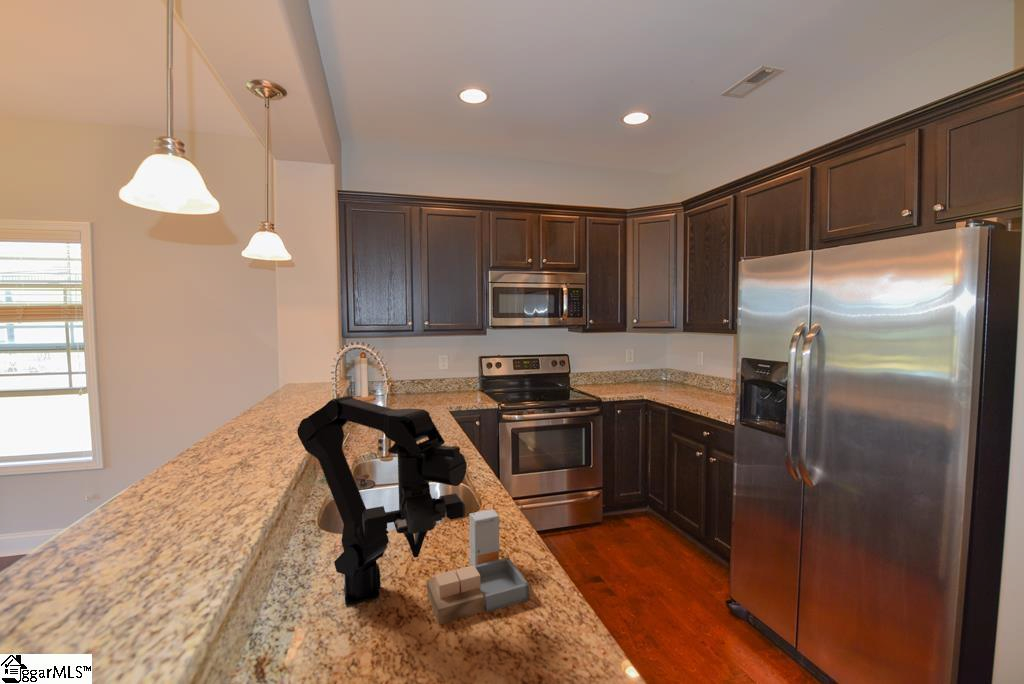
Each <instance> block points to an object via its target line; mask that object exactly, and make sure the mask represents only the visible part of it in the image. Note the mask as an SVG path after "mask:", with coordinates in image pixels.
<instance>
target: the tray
mask: <svg viewBox="0 0 1024 684" xmlns="http://www.w3.org/2000/svg"><path fill="white" fill-rule="evenodd" d="M475 568H476V569H477V571H478V573H479V574H480V588H479V589H480V590H481V592H482V594H483V596H484V612H486V613H490V611H491V612H493V611H497V610H500V608H501V609H504V608H507V607H511V606H514V605H518V604H520V603H523V602H527V601H530V583H529V582H528V581H527V580H526V578H525V577H524V576H523V575H522V573H521V571H520V570H519V569H518V568H517V566H516V565H515V564H514V563H513V562H512V560H511V559H510V558H509V557H504V558H499V560H495V561H491V562H487V563H483V564H479V565H475Z"/></svg>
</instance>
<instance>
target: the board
mask: <svg viewBox="0 0 1024 684" xmlns="http://www.w3.org/2000/svg"><path fill="white" fill-rule="evenodd" d="M426 594H427V597H428V599H429V602H430V605H431V608H432V611H433V614H434V616H435V618H436V619H435V620H436V621H437V625H438V626H439V625H443V624H447V623H450V622H454V621H457V620H461V619H465V618H468V617H471V616H473V615H478V614H481V613H483V612H485V609H484V596H483V594H482V592H481V590H480V589H479V588H477V589H473V590H469V591H466V592H462V593H461V591H460V593H458V594H454V595H451V596H447V597H443V598H439V596H438V593H437V591H436V588H435V577H432V578H428V579H426ZM477 613H478V614H477Z"/></svg>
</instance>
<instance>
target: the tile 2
mask: <svg viewBox="0 0 1024 684" xmlns="http://www.w3.org/2000/svg"><path fill="white" fill-rule="evenodd" d="M454 571H455V573H456V575H457V577H458V579H459V582H460V591H461V593H462V592H466V591H469V590H473V589H477V588H480V574H479V573H478V571H477V569H476V568H475V566H474V565H469V566H465V567H460V568H457V569H455V570H454Z"/></svg>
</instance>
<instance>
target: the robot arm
mask: <svg viewBox="0 0 1024 684" xmlns="http://www.w3.org/2000/svg"><path fill="white" fill-rule="evenodd" d="M432 419H433V418H432V417H431V414H430V412H428V411H427V410H425V409H423V408H398V409H397V408H390V407H386V406H384V405H383V406H382V405H379V404H375V403H371V402H369V401H364V400H361V399H356V398H354V397H352V396H349V395H344V396H340V397H335V398H332V399H330V401H328V402H327V403H326V404H325V405H323V406H322V407H321V408H319V409H317V410H316V411H315V412H313V413H311V414H310V415H308V416H307V417H305V418H303V419H302V420H300V422H299V426H298V427H297V436H298V438H299V441H300V442H301V444H302V446H303V448H304V449H305V451H306V452H307V453H308V454H310V455H311V456H313V457H314V458H316V459H317V460H318V462H319V465H320V467H321V469H322V473H323V475H324V478H325V480H326V483H327V485H328V488H329V490H330V493H331V495H332V498H333V501H334V503H335V506H336V507H337V511H338V512H339V516H340V518H341V520H342V523H343V528H342V534H341V545H342V549H343V551H342V553H341V554H339V556H338V557H337V558H336V559H334V561H333V563H334V567H335V571H336V573H337V574H341V575H344V586H343V591H344V593H343V594H344V603H345V604H344V605H345V606H350V605H353V604H358V603H361V602H365V601H369V600H373V599H377V598H379V597H380V592H379V590H380V589H381V569H380V565H379V563H377V560H379V559H380V558H381V559H382V558H383V556H384V553H385V551H386V550H387V549H388V544H389V543H390V541H389V537H388V534H389V533H390V532H389V530H388V524H390V523H393V524H394V527H395V528H394V529H395V531H396V533H397V534H403V535H404V537H405V538H406V540H407V543H408V544H409V548H410V551H411V554H412V556H413V558H414V559H415V558H419V555H420V552H421V549H422V546H423V544H424V540H425V538H426V536H427V533H428V531H433V530H434V529H435V528H436V526H437V522H440V521H442V520H443V519H444V518H448V519H449V520H451V521H452V520H456V519H462V518H464V517H465V516H466V505H465V502H464V501H463V500H462V498H461V497H460V496H459V495H458V494H457V493H450V494H445V495H440V496H439V497H438V498H435V497H432V495H431V488H430V486H431V485H430V483H431V482H432V483H437V484H442V485H443V484H444V485H447V486H453V487H458V486H459V485H461V484H462V483H463V481H464V479H465V477H466V473H467V467H468V466H467V465H468V464H467V461H466V458H465V456H464V455H463V454H462V453H461V448H460V446H454V445H452V446H447V445H445V442H446V441H445V440H444V438H443V436H442V435H441V433H440V432H439V429H438V428H437V427H436V424H435V423H434V421H433V420H432ZM348 422H349V423H350V422H351V423H354V424H357V425H360V426H364V427H367V428H371V429H374V430H377V431H380V432H382V433H383V434H384V435H385V437H386V438H387V439H388V440H390V441H391V442H394V443H393V445H392V446H391V447H390V448H388V450H387V451H388V453H389V454H396V455H397V479H398V481H397V482H398V484H397V485H398V509H397V510H391V511H386V510H385V507H384V505H382V506H375V507H371V508H367V507H366V504H365V501H364V500H363V497H362V494H361V492H360V490H359V488H358V485H357V483H356V480H355V477H354V475H353V473H352V470H351V467H350V466H349V463H348V460H347V458H346V456H345V454H344V451H343V445H344V441H345V440H344V439H345V432H344V429H343V427H345V426H346V424H348ZM424 439H427V440H424ZM421 440H424V441H422V442H419V441H421ZM417 442H418V443H417Z"/></svg>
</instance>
